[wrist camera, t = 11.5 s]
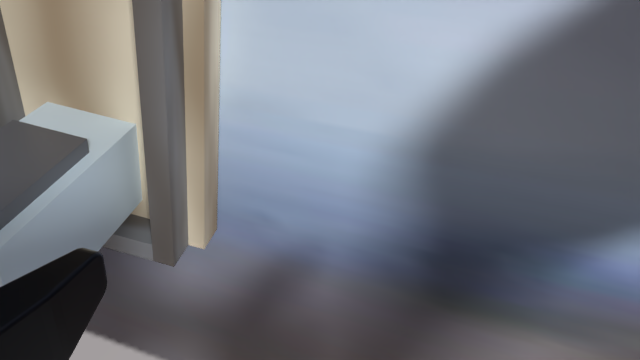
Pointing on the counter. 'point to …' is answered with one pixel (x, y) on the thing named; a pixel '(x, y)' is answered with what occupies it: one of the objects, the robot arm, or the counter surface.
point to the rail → (130, 99)
